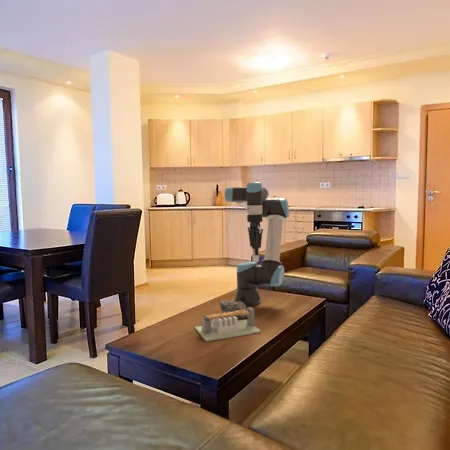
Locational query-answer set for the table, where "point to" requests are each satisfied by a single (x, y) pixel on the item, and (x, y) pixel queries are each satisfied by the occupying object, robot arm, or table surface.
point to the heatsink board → (231, 334)
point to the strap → (226, 314)
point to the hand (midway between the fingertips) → (255, 261)
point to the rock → (233, 307)
